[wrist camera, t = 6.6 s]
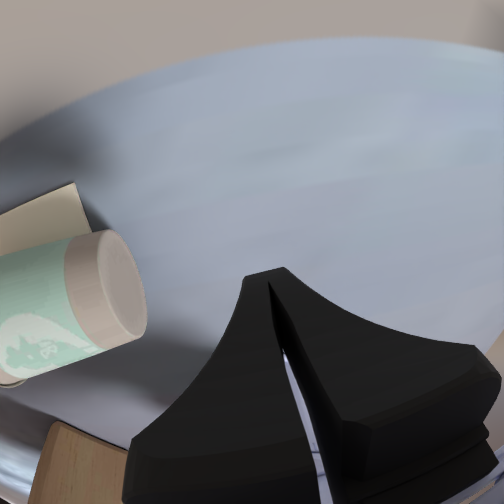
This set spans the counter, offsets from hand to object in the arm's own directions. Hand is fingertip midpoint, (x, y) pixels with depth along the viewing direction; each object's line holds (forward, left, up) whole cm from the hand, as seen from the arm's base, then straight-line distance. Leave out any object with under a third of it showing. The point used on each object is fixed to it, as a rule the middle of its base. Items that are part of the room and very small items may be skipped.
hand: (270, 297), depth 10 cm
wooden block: (-33, +7, -10) cm, 35 cm away
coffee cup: (-5, +5, -5) cm, 9 cm away
